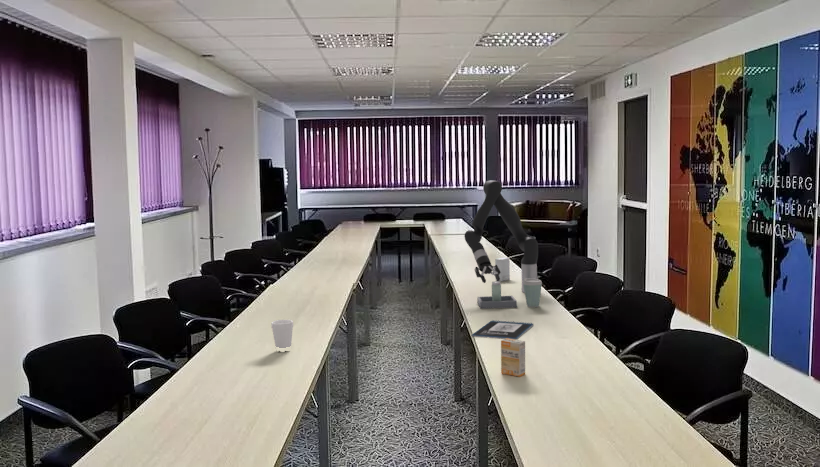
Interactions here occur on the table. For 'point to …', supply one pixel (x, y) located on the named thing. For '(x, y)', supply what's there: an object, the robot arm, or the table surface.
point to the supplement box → (513, 357)
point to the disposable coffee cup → (532, 291)
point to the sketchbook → (503, 329)
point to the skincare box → (503, 268)
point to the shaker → (496, 291)
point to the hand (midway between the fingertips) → (491, 281)
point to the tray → (496, 302)
